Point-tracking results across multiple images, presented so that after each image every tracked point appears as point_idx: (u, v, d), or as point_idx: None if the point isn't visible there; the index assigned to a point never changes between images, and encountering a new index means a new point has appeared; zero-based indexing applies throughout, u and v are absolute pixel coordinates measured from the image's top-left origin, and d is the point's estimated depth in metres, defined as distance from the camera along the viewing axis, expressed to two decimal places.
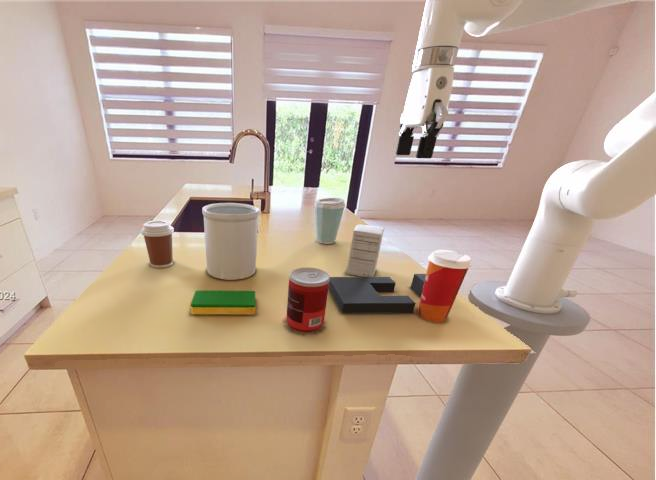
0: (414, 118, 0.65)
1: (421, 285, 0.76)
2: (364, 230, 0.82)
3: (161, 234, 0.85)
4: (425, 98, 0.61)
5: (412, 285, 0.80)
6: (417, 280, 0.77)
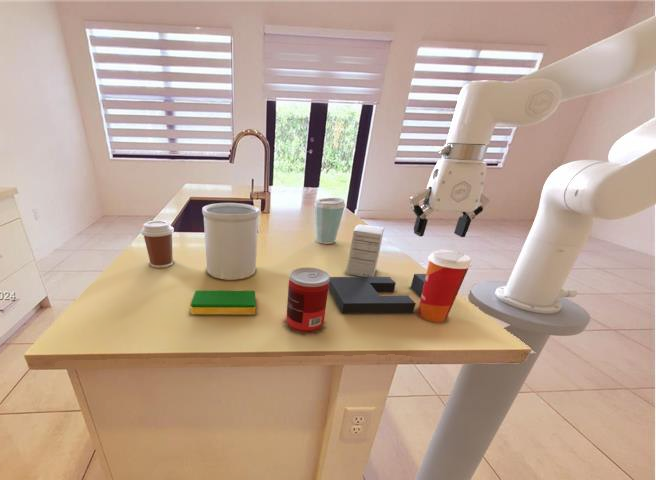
0: None
1: (421, 285, 0.76)
2: (364, 230, 0.82)
3: (161, 234, 0.85)
4: None
5: (412, 285, 0.80)
6: (417, 280, 0.77)
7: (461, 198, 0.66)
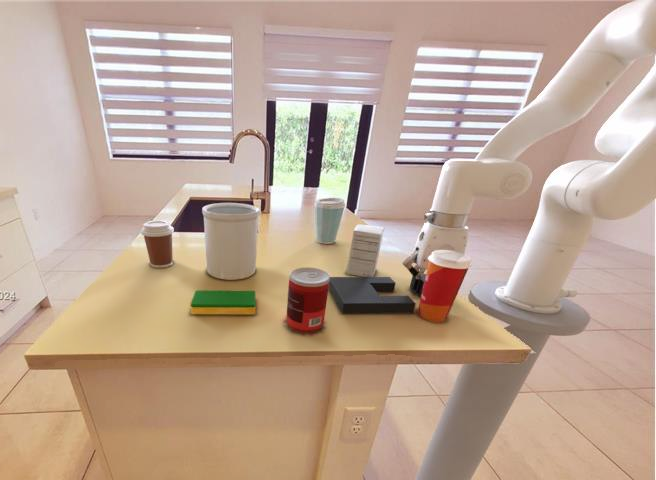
0: None
1: (421, 285, 0.76)
2: (364, 230, 0.82)
3: (161, 234, 0.85)
4: None
5: None
6: None
7: None
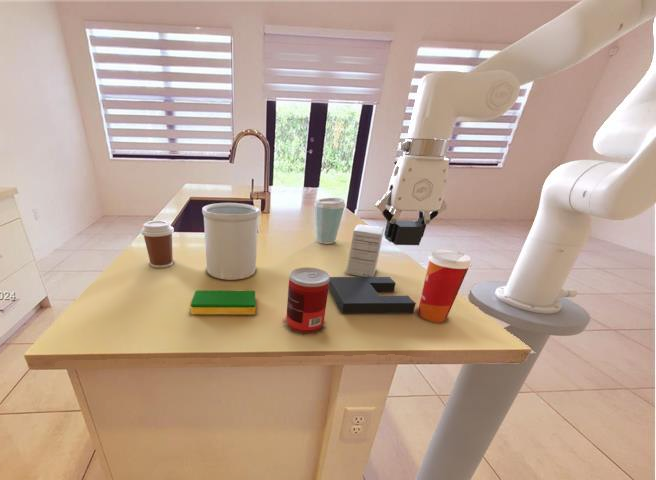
0: None
1: (396, 231, 0.67)
2: (364, 230, 0.82)
3: (161, 234, 0.85)
4: None
5: None
6: None
7: (423, 196, 0.62)
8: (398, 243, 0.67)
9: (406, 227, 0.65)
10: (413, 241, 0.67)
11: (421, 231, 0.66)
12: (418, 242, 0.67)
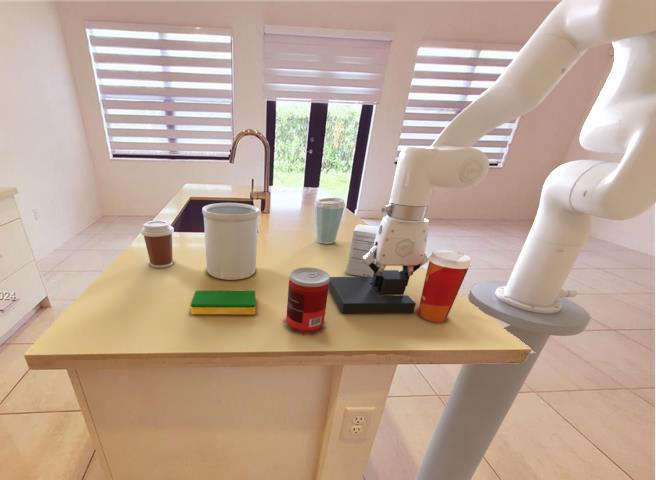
0: None
1: None
2: (364, 230, 0.82)
3: (161, 234, 0.85)
4: None
5: None
6: None
7: (406, 253, 0.67)
8: (384, 293, 0.72)
9: (391, 279, 0.71)
10: (397, 292, 0.72)
11: (405, 283, 0.71)
12: (402, 292, 0.72)
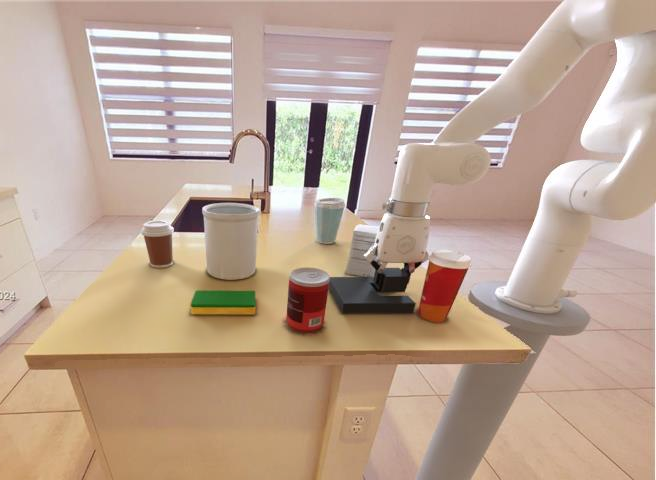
0: None
1: (383, 280, 0.72)
2: (364, 230, 0.82)
3: (161, 234, 0.85)
4: None
5: None
6: None
7: (407, 250, 0.67)
8: (385, 291, 0.72)
9: (392, 277, 0.70)
10: (399, 289, 0.72)
11: (407, 280, 0.71)
12: (403, 289, 0.72)
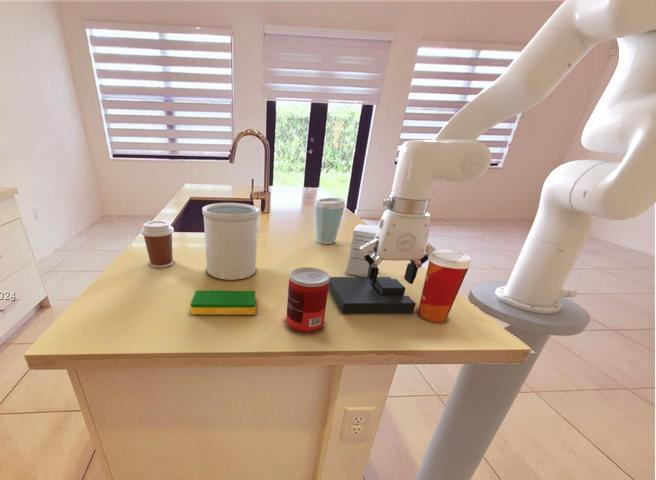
0: None
1: (380, 291, 0.73)
2: (364, 230, 0.82)
3: (161, 234, 0.85)
4: None
5: None
6: (378, 285, 0.74)
7: (407, 248, 0.67)
8: None
9: (389, 288, 0.72)
10: None
11: (403, 292, 0.72)
12: None
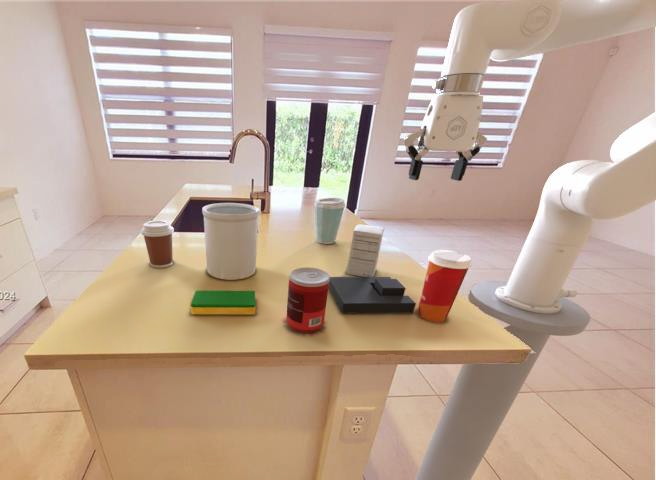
0: None
1: (380, 291, 0.73)
2: (364, 230, 0.82)
3: (161, 234, 0.85)
4: None
5: None
6: (378, 285, 0.74)
7: (457, 135, 0.63)
8: None
9: (389, 288, 0.72)
10: None
11: (403, 292, 0.72)
12: None
